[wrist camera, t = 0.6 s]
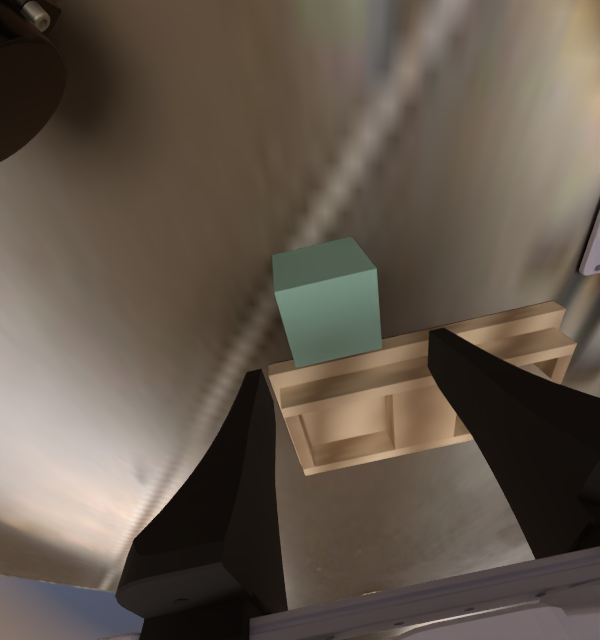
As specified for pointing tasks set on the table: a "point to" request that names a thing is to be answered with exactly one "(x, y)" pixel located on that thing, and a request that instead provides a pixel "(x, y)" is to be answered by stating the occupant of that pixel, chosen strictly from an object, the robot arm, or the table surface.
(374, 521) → the table surface
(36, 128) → the pneumatic valve
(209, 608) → the robot arm
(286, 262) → the teal block
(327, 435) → the assembly board
